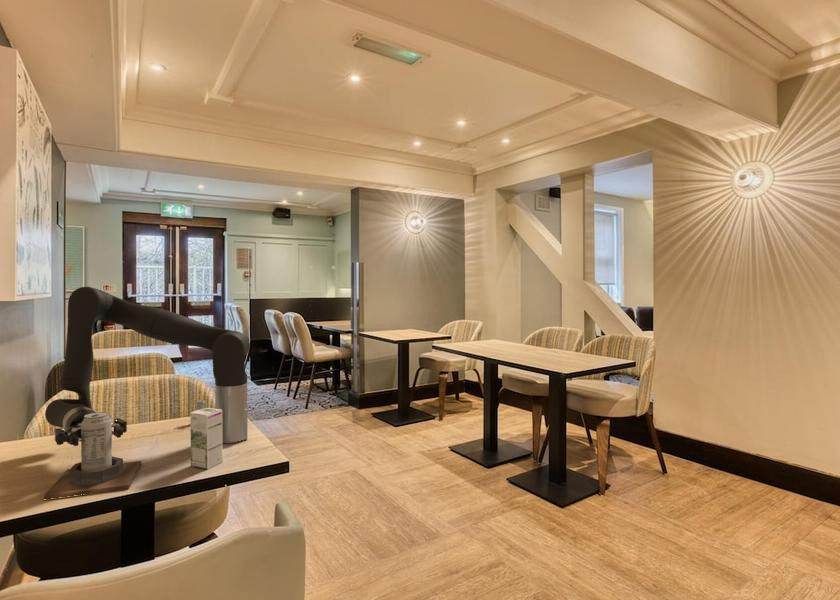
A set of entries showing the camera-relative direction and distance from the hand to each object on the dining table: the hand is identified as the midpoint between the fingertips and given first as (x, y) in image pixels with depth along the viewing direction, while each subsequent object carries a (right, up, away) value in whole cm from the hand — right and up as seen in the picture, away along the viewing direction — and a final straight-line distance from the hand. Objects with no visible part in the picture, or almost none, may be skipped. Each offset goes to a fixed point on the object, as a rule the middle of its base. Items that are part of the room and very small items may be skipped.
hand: (98, 437), depth 109 cm
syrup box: (+20, -11, +12) cm, 26 cm away
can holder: (-1, -11, +2) cm, 11 cm away
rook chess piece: (0, -10, +50) cm, 51 cm away
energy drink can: (-2, -10, +2) cm, 10 cm away
